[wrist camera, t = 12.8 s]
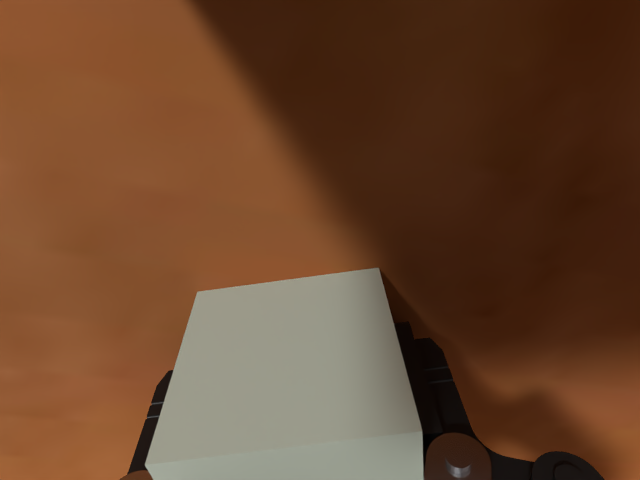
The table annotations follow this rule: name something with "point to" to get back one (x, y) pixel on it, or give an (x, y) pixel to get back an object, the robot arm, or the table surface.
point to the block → (290, 387)
